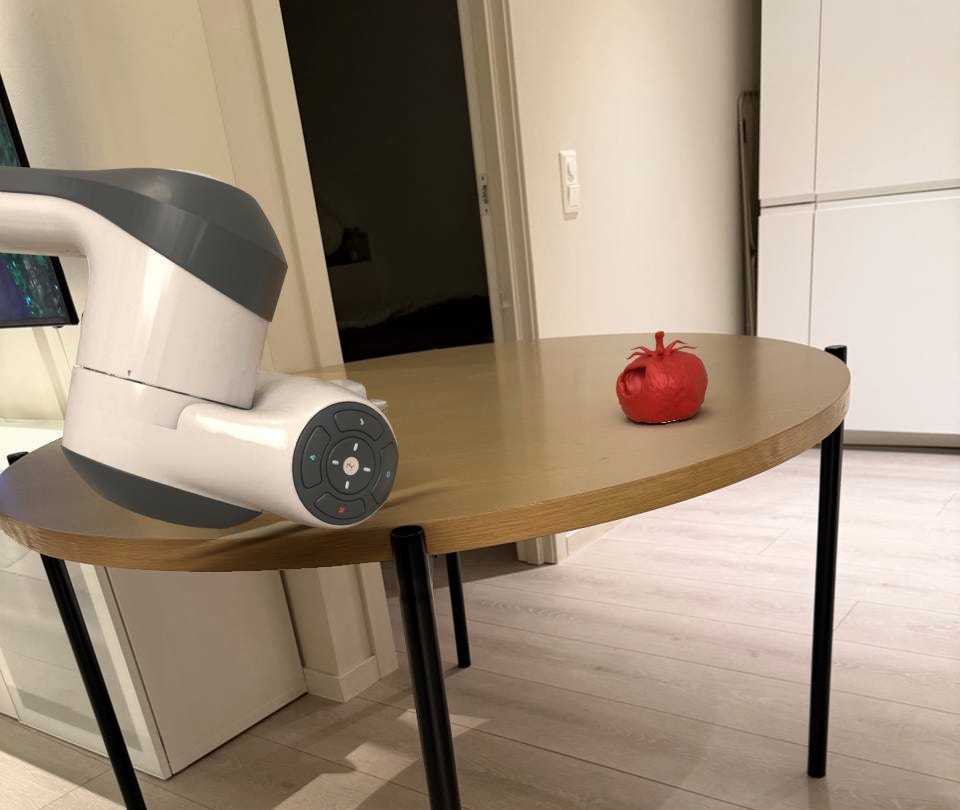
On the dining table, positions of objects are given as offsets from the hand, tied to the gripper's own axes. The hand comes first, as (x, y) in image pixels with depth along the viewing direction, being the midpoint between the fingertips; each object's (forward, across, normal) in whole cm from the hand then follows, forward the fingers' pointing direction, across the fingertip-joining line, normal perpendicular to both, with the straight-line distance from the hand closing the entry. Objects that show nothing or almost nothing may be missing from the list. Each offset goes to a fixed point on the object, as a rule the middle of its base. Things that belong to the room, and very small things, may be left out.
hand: (214, 418), depth 74 cm
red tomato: (+1, -49, +10) cm, 50 cm away
